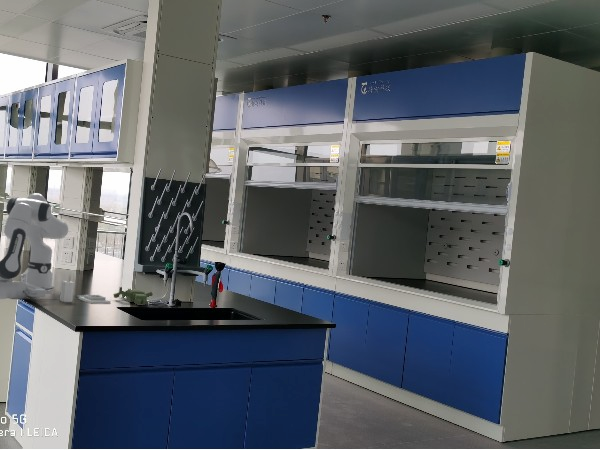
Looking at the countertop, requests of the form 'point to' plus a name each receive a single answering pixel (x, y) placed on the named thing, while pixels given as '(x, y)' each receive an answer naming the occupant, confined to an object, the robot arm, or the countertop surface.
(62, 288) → the charger
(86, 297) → the outlet plate
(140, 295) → the toy
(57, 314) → the countertop surface
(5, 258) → the robot arm
